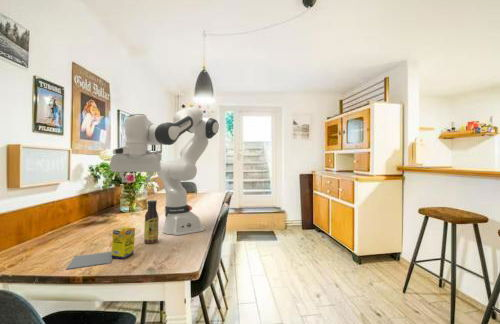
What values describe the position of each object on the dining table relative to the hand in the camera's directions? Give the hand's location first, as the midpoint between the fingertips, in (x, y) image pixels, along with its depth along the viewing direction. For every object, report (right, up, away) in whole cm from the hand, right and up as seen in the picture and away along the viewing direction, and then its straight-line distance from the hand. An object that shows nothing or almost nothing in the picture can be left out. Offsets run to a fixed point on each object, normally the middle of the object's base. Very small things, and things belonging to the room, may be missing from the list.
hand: (136, 182), depth 104 cm
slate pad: (-12, -30, -10) cm, 34 cm away
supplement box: (-2, -30, -6) cm, 30 cm away
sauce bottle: (+2, -30, +11) cm, 32 cm away
